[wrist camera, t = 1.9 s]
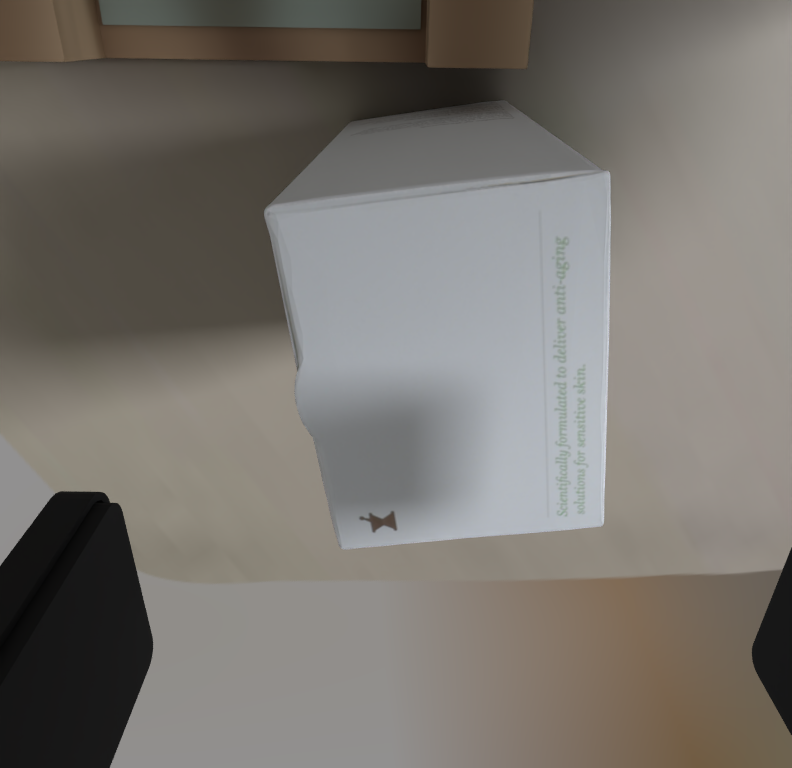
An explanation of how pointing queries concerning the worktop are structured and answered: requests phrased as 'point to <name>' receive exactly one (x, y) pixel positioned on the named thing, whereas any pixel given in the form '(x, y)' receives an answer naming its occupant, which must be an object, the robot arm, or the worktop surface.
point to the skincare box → (450, 325)
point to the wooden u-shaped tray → (271, 31)
